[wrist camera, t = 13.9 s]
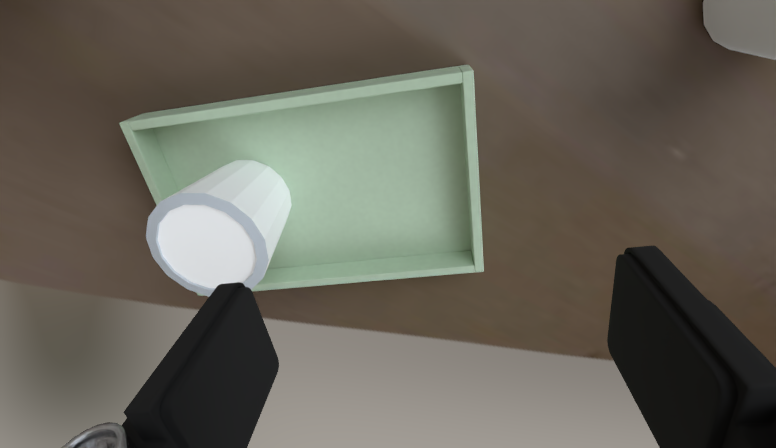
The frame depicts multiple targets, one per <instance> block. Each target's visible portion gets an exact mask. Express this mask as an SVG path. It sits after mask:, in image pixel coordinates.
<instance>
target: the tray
mask: <svg viewBox="0 0 776 448" xmlns="http://www.w3.org/2000/svg"><path fill="white" fill-rule="evenodd" d="M119 124H120V127H121V129H122V131H123V133H124V135H125V138H126V140H127V142H128V144H129V146H130V148H131V151H132V153H133V155H134V157H135V159H136V162H137V164H138V166H139V168H140V170H141V172H142V175H143V177H144V179H145V181H146V183H147V186H148V188H149V190H150V192H151V194H152V196H153V199H154V201H155V203H156V205H158V204H159V202H160V201H162V200H164V199H166V198H167V197H169V196H171V195H173V194H175V193H176V192H178V191H180V190H182V189H183V188H185V187H187V186H189V185H190V184H192V183H194V182H196V181H198V180H199V179H201V178H203V177H205V176H206V175H208V174H210V173H212V172H214V171H215V170H217V169H219V168H221V167H222V166H224V165H227V164H229V163H231V162H233V161H236V160H254V161H257V162H259V163H262V164H265V165H267V166H269V167H270V168H272V169H273V170H274V171H275V172H276V173H277V174H279V175H280V176H281V177H282V179H283V180H284V182H285V184H286V185H287V187H288V189H289V191H290V197H291V204H292V206H291V209H290V212H289V215H288V218H287V221H286V223H285V226H284V228H283V231H282V233H281V236H280V238H279V241H278V243H277V246H276V248H275V251H274V253H273V255H272V258H271V260H270V263H269V265H268V268H267V270H266V273H265V275H264V278H263V279H262V280H261V281H260V282H259V283H258V284H257V285H256V286H255V287H254V288H253V289H252V290H251V291H262V290H273V289H285V288H297V287H308V286H320V285H332V284H344V283H355V282H367V281H379V280H390V279H402V278H414V277H425V276H437V275H449V274H461V273H472V272H484V265H483V246H482V226H481V207H480V188H479V169H478V149H477V130H476V111H475V92H474V72H473V70H472V68H471V67H470V66H469V65H461V66H454V67H448V68H441V69H435V70H428V71H421V72H415V73H408V74H401V75H395V76H388V77H381V78H375V79H368V80H362V81H355V82H348V83H342V84H335V85H328V86H322V87H315V88H308V89H302V90H295V91H288V92H282V93H275V94H269V95H262V96H255V97H249V98H242V99H235V100H229V101H222V102H215V103H209V104H202V105H196V106H189V107H182V108H176V109H169V110H162V111H156V112H149V113H143V114H140V115H138V116H135V117H133V118H130V119H128V120H125V121H123V122H120V123H119ZM196 293H197V292H196ZM197 295H198V296H203V294H200V293H197Z"/></svg>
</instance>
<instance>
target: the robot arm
mask: <svg viewBox="0 0 776 448" xmlns="http://www.w3.org/2000/svg"><path fill="white" fill-rule="evenodd" d="M608 348H609V351H610V354H611V356H612V358H613V360H614V362H615V364H616V365H617V367H618V369H619V371H620V373H621V375H622V377H623V379H624V381H625V382H626V384H627V386H628V388H629V390H630V392H631V394H632V396H633V398H634V399H635V401H636V403H637V405H638V407H639V409H640V410H641V413H642V415H643V417H644V418H645V420H646V422H647V424H648V426H649V428H650V430H651V432H652V434H653V435H654V437H655V439H656V441H657V443H658V445H659V446H660V448H776V368H775V367H774V366H773V365H772V364H771V363H770V362H769V360H768V359H767V358H766V357H765V356H764V355H763V354H762V353H761V352H760V351H759V350H758V349H757V348H756V347H755V346H754V345H753V344H752V343H751V342H750V341H749V340H748V339H747V338H746V337H745V336H744V335H743V333H742V332H741V331H740V330H739V329H738V328H737V327H736V326H735V325H734V324H733V323H732V322H731V321H730V320H729V319H728V318H727V317H726V316H725V315H724V314H723V313H722V312H721V311H720V310H719V309H718V307H717V306H716V305H714V304H713V303H712V302H711V301H709V300H707V299H706V298H705V297H704V296H703V295H702V294H701V293H700V292H699V291H698V290H697V289H696V288H695V287H694V286H693V284H692V283H691V282H690V281H689V280H688V279H687V278H686V277H685V276H684V275H683V274H682V273H681V272H680V271H679V270H678V269H677V268H676V267H675V266H674V265H673V263H672V262H671V261H670V260H669V259H668V258H667V257H666V256H665V255H664V254H663V253H662V252H661V251H660V250H659V249H658V248H657V247H656V246H644V247H633V248H627V249H626V250H625V252H624V254H623V255H618V257H617V260H616V268H615V277H614V286H613V295H612V304H611V313H610V321H609V330H608ZM278 367H279V362H278V357H277V355H276V352H275V349H274V347H273V344H272V342H271V339H270V337H269V334H268V331H267V329H266V326H265V324H264V321H263V319H262V316H261V313H260V311H259V308H258V306H257V303H256V301H255V298H254V296H253V293H252V291H251V289H250V288H249V287H245V285H244V284H243V283H241V282H237V283H226V284H220V285H218V286H217V287H216V289H215V290H214V291H213V293H212V294H211V295H210V297H209V298H208V299H207V301H206V302H205V303H204V305H203V306H202V307H201V309H200V310H199V311H198V313H197V314H196V316H195V317H194V318H193V319H192V321H191V323H190V324H189V325H188V326H187V328H186V329H185V330H184V332H183V333H182V334H181V336H180V337H179V339H178V340H177V341H176V342H175V344H174V345H173V346H172V348H171V349H170V350H169V352H168V353H167V354H166V356H165V357H164V358H163V360H162V361H161V363H160V364H159V365H158V367H157V368H156V369H155V371H154V372H153V373H152V375H151V376H150V377H149V379H148V380H147V381H146V383H145V384H144V385H143V387H142V388H141V389H140V391H139V392H138V394H137V395H136V396H135V398H134V399H133V400H132V402H131V403H130V404H129V406H128V407H127V408H126V410H125V411H124V413H125V415H126V416H127V419H126V421H125V422H124V423H123V425H122V426H121V425H119V424H118V423H110V422H109V423H103V424H99V425H96V426H94V427H92V428H90V429H87V430H85V431H83V432H82V433H80V434H79V435H77V436H75V437H74V438H72V439H71V440H70V441H69V442H68V443H66V444H65V445H64V446H63V447H62V448H247V446H248V444H249V441H250V438H251V436H252V434H253V431H254V429H255V426H256V424H257V421H258V419H259V417H260V414H261V412H262V409H263V407H264V404H265V401H266V399H267V397H268V394H269V392H270V389H271V387H272V384H273V382H274V380H275V377H276V375H277V372H278Z"/></svg>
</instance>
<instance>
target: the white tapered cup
mask: <svg viewBox="0 0 776 448" xmlns="http://www.w3.org/2000/svg"><path fill="white" fill-rule="evenodd" d="M291 206H292V204H291V197H290V191H289V189H288V187H287V185H286V184H285V182H284V180H283V179H282V177H281V176H280V175H279V174H277V173H276V172H275V171H274V170H273V169H272V168H270V167H269V166H267V165H265V164H262V163H259V162H257V161H254V160H236V161H233V162H231V163H229V164H227V165H224V166H222V167H221V168H219V169H217V170H215V171H214V172H212V173H210V174H208V175H206V176H205V177H203V178H201V179H199V180H198V181H196V182H194V183H192V184H190V185H189V186H187V187H185V188H183V189H182V190H180V191H178V192H176V193H175V194H173V195H171V196H169V197H167V198H166V199H164V200H162V201H160V202H159V204H158V205H157V206H156V208H155V209H154V210H153V212H152V213H151V214H150V216H149V217H148V224H147V232H146V239H147V242H148V245H149V248H150V250H151V253H152V256H153V258H154V260H155V261H156V262H157V263H158V264H159V266H160V267H161V268H162V269H163V271H164V272H165V273H166V274H167V276H169V277H170V278H172V279H173V280H175V281H176V282H177V283H179V284H180V285H182V286H183V287H185V288H186V289H188V290H191V291H194V292H197V293H200V294H203V295H206V296H209V297H210V295H211V294H212V293H213V291H214V290H215V289H216V287H217V286H218V285H220V284H226V283H237V282H241V283H243V284H244V285H245V287H249V288H250V289H251V290H252V289H253V288H254V287H255V286H256V285H257V284H258V283H259V282H260V281H261V280H262V279H263V278H264V275H265V273H266V270H267V268H268V265H269V263H270V260H271V258H272V255H273V253H274V251H275V248H276V246H277V243H278V241H279V238H280V236H281V233H282V231H283V228H284V226H285V223H286V221H287V218H288V215H289V212H290V209H291Z"/></svg>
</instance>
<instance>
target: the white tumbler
mask: <svg viewBox="0 0 776 448" xmlns="http://www.w3.org/2000/svg"><path fill="white" fill-rule="evenodd" d="M703 19H704V26H705V28H706V30H707V31H708V33H709V35H710V36H711V38H712V40H713V41H714V42H716V43H718V44H720V45H722V46H723V47H725V48H727V49H729V50H733V51H738V52H742V53H747V54H751V55H756V56H760V57H765V58H769V59H773V60H776V0H704V1H703Z"/></svg>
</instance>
